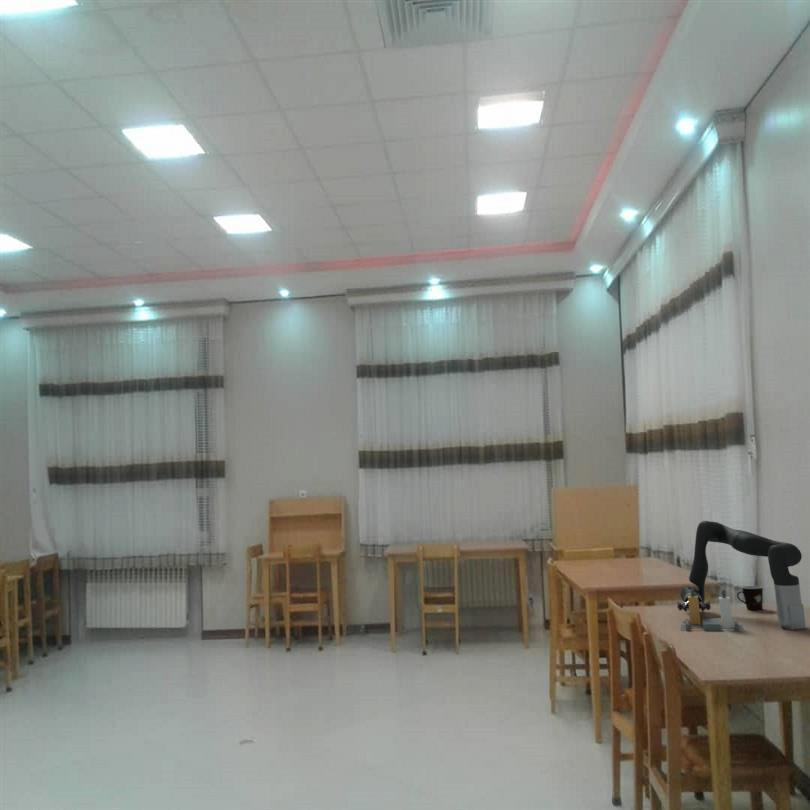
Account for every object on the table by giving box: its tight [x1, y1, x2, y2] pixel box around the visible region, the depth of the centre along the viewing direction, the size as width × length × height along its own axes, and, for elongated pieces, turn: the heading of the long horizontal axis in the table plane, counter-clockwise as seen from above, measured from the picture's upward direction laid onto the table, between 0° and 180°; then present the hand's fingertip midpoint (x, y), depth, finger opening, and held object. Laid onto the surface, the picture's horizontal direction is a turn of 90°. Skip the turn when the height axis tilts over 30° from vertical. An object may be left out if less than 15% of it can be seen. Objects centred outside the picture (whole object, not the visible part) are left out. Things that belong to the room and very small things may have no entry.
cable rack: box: [680, 618, 745, 632], centre depth 310 cm, size 24×12×4 cm, turn 70°
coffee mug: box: [736, 585, 764, 612], centre depth 346 cm, size 12×9×10 cm
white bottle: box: [718, 589, 734, 629], centre depth 309 cm, size 4×4×15 cm
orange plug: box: [688, 589, 702, 625], centre depth 322 cm, size 4×4×15 cm
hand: (694, 609), depth 320 cm, fingers open, 6 cm apart
